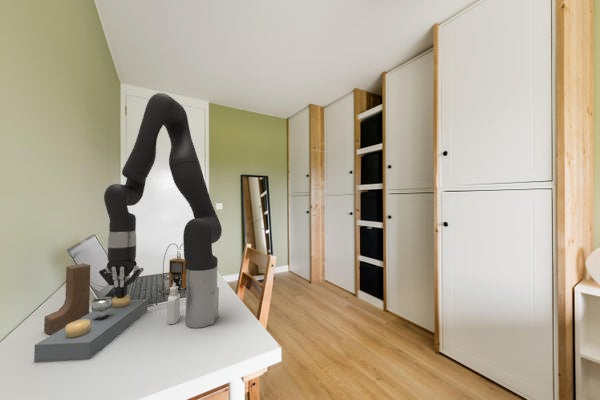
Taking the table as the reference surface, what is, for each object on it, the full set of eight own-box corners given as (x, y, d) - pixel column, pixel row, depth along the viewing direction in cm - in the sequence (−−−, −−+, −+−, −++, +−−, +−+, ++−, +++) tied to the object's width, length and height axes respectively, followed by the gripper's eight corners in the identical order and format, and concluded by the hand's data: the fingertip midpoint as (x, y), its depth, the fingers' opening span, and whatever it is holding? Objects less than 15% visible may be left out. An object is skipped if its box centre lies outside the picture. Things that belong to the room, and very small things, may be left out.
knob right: (132, 313, 80) (132, 294, 81) (123, 319, 76) (124, 300, 76) (117, 313, 80) (118, 295, 80) (108, 320, 75) (108, 300, 76)
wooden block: (49, 335, 67) (51, 271, 67) (43, 331, 69) (45, 269, 69) (89, 321, 75) (91, 264, 75) (82, 318, 77) (84, 263, 77)
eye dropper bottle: (185, 317, 78) (186, 281, 79) (172, 325, 73) (173, 286, 73) (174, 315, 79) (175, 279, 80) (160, 324, 74) (161, 285, 74)
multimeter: (148, 295, 97) (149, 246, 98) (165, 286, 107) (166, 242, 108) (180, 297, 95) (181, 247, 95) (195, 289, 105) (196, 243, 105)
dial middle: (115, 317, 72) (116, 295, 72) (104, 324, 67) (105, 301, 68) (99, 317, 72) (100, 296, 72) (87, 325, 67) (88, 302, 67)
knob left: (94, 341, 64) (94, 318, 64) (80, 352, 59) (80, 327, 59) (75, 342, 63) (76, 319, 63) (59, 353, 58) (60, 328, 59)
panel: (147, 310, 83) (147, 299, 83) (89, 359, 57) (89, 342, 57) (110, 312, 82) (110, 300, 82) (34, 361, 56) (34, 344, 56)
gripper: (149, 242, 83) (148, 292, 82) (109, 243, 81) (107, 293, 81) (137, 246, 75) (135, 301, 75) (92, 247, 74) (90, 302, 74)
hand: (121, 297), depth 78 cm, fingers closed
